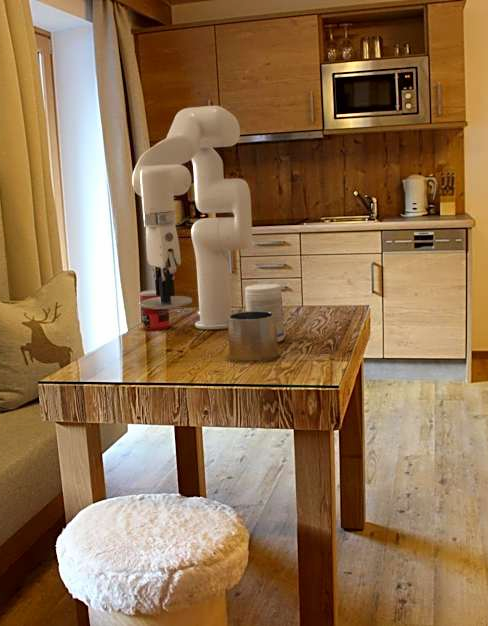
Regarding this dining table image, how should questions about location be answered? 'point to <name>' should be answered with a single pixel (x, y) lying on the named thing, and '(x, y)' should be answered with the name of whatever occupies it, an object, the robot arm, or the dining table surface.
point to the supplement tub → (266, 303)
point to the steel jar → (252, 336)
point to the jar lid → (165, 301)
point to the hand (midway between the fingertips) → (165, 295)
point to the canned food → (153, 314)
